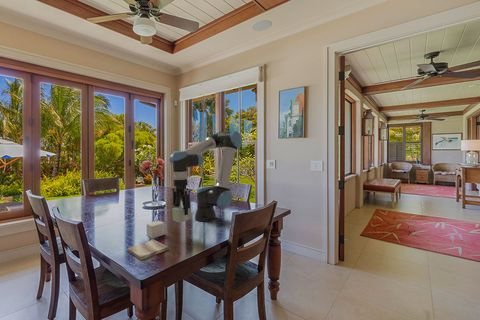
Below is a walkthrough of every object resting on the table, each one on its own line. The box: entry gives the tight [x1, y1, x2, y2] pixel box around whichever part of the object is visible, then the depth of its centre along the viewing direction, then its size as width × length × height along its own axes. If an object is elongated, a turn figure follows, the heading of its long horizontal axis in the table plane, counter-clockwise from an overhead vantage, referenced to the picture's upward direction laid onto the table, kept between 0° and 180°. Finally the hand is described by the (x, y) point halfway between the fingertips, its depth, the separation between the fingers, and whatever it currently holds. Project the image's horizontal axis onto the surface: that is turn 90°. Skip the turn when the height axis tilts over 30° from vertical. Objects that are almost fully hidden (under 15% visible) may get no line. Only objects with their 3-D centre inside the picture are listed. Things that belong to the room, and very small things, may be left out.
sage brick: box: [171, 205, 192, 224], centre depth 132 cm, size 8×6×7 cm
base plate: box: [126, 239, 169, 261], centre depth 115 cm, size 14×14×2 cm
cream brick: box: [146, 220, 166, 239], centre depth 135 cm, size 8×6×7 cm
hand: (181, 219), depth 132 cm, fingers closed on sage brick, 6 cm apart
